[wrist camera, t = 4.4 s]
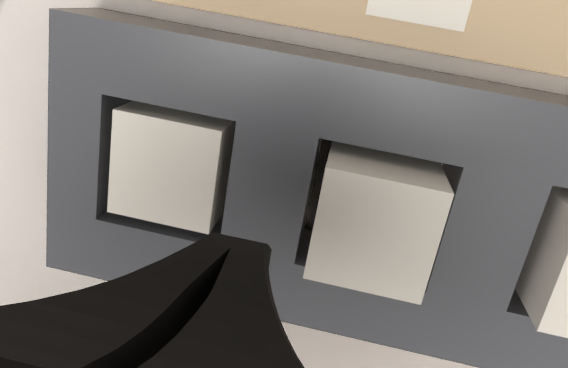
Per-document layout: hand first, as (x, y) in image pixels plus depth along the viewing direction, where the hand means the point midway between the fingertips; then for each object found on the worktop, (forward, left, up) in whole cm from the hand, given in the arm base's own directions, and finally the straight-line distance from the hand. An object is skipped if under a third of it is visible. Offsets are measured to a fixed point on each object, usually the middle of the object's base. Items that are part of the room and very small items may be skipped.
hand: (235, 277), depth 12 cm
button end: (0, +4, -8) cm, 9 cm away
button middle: (0, -3, -7) cm, 8 cm away
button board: (0, -3, -9) cm, 9 cm away
